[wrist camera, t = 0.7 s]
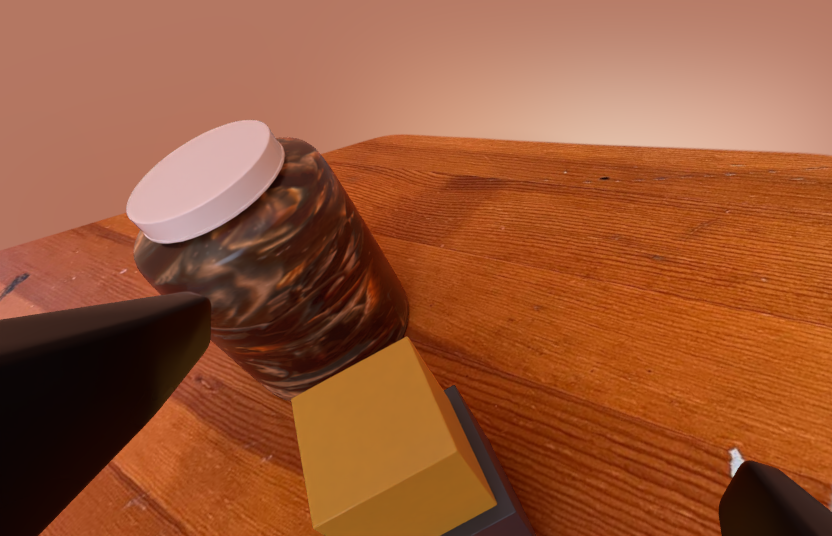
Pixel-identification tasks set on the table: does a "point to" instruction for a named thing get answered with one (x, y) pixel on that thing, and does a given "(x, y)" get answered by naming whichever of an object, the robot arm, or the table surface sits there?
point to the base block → (506, 522)
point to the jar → (268, 255)
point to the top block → (387, 451)
